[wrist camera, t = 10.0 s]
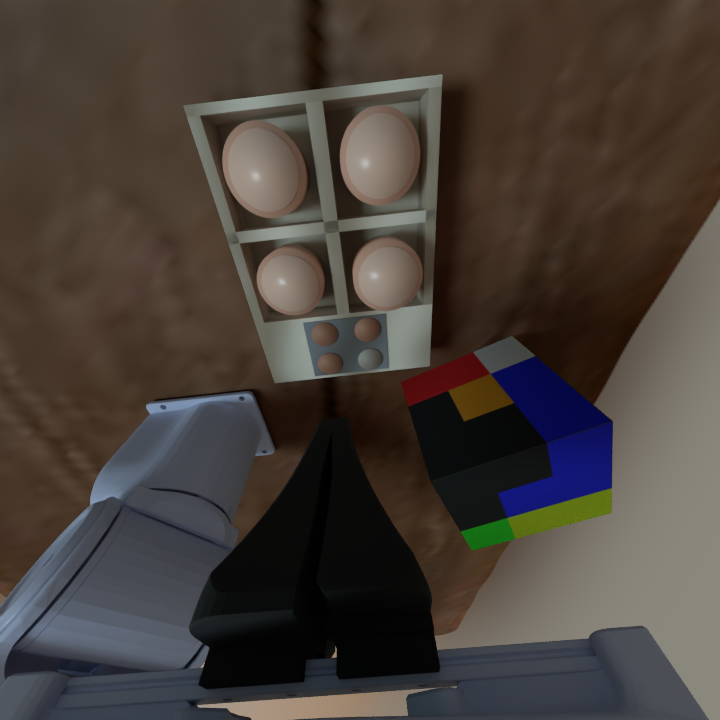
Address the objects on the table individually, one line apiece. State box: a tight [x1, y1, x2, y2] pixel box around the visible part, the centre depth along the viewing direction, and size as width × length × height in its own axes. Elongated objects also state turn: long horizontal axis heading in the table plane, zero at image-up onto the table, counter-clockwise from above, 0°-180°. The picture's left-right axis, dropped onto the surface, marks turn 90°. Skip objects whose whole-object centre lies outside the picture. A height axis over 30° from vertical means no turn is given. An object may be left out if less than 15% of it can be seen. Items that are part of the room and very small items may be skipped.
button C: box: [222, 120, 310, 218], centre depth 14 cm, size 4×4×2 cm
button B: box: [352, 235, 423, 311], centre depth 16 cm, size 4×4×2 cm
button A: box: [257, 243, 326, 315], centre depth 17 cm, size 4×4×2 cm
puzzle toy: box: [401, 336, 613, 550], centre depth 22 cm, size 10×10×10 cm
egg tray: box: [184, 74, 442, 383], centre depth 18 cm, size 12×16×3 cm
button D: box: [340, 105, 420, 206], centre depth 14 cm, size 4×4×2 cm
